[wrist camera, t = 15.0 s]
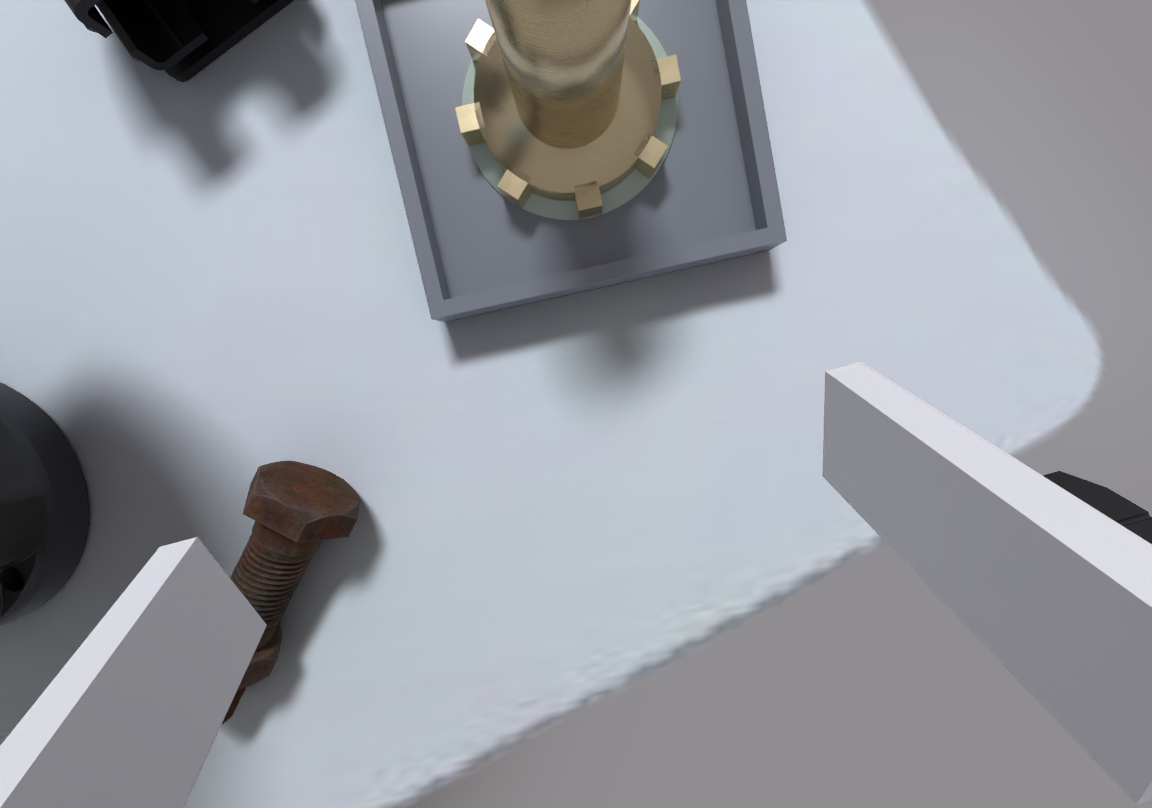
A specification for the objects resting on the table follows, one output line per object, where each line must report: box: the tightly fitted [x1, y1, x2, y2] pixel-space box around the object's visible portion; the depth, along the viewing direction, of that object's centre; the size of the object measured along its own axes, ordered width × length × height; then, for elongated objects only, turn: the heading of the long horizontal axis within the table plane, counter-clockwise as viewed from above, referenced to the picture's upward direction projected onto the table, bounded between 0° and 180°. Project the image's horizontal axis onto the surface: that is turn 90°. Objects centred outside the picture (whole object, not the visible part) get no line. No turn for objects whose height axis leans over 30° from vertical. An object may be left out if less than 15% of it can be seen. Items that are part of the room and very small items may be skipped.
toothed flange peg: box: [455, 0, 681, 219], centre depth 20 cm, size 11×11×12 cm
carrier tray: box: [355, 0, 787, 322], centre depth 26 cm, size 18×18×2 cm
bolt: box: [222, 461, 359, 724], centre depth 28 cm, size 6×5×15 cm
